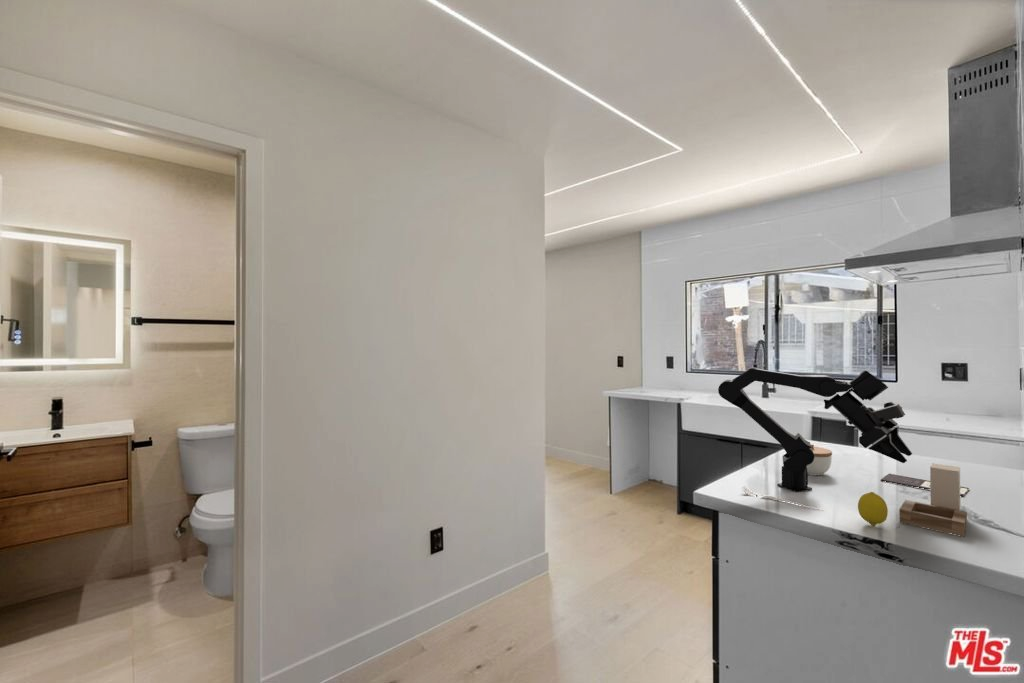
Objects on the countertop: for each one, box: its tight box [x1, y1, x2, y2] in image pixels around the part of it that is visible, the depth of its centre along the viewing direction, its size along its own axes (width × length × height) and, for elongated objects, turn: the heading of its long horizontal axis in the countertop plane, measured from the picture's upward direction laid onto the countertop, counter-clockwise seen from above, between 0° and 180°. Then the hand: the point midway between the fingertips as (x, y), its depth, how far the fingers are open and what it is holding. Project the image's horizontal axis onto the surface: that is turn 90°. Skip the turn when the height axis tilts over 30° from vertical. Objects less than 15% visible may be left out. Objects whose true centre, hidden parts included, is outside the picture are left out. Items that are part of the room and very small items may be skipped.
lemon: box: [857, 491, 889, 527], centre depth 106 cm, size 6×6×8 cm
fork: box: [740, 486, 821, 511], centre depth 123 cm, size 3×20×2 cm, turn 44°
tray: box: [899, 499, 968, 538], centre depth 107 cm, size 9×11×3 cm
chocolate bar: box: [880, 473, 970, 497], centre depth 133 cm, size 9×1×18 cm
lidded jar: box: [807, 443, 833, 477], centre depth 147 cm, size 11×11×9 cm
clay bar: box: [929, 462, 961, 511], centre depth 112 cm, size 5×5×12 cm
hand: (908, 458), depth 117 cm, fingers open, 9 cm apart
